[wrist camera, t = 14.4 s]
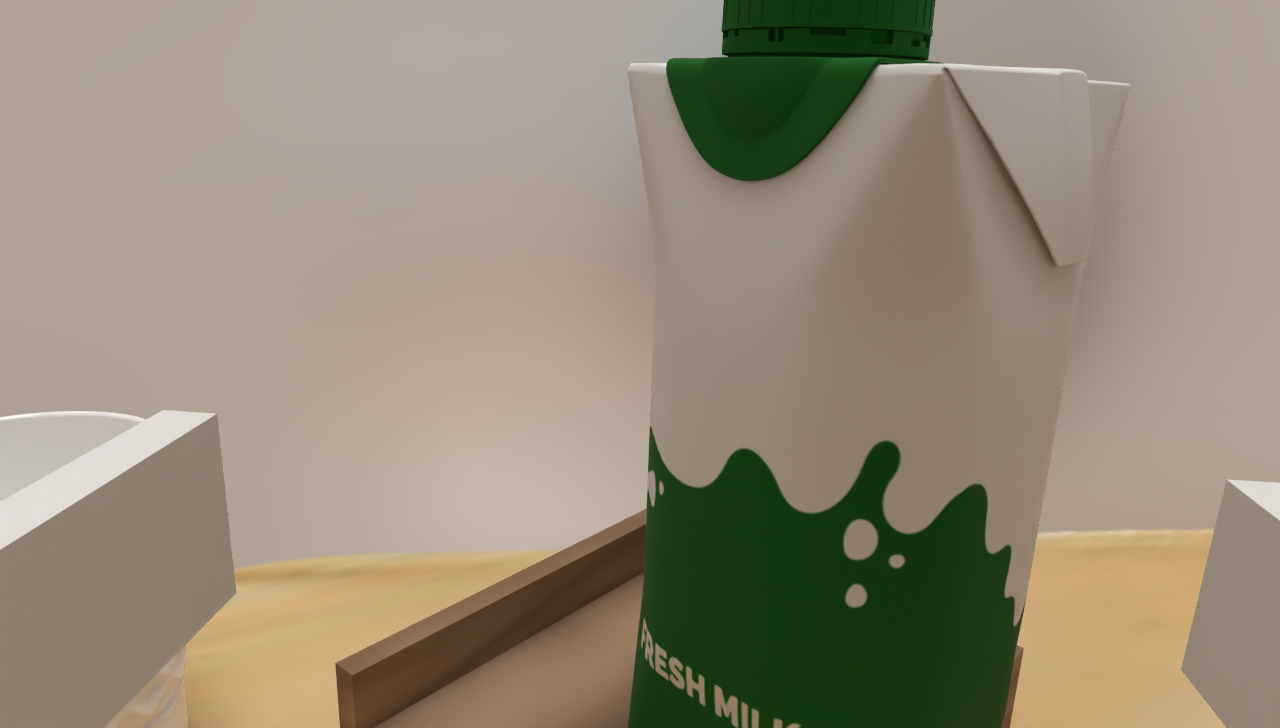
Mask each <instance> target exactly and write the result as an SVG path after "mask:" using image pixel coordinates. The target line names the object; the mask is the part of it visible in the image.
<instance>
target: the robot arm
mask: <svg viewBox="0 0 1280 728" xmlns="http://www.w3.org/2000/svg"><path fill="white" fill-rule="evenodd" d="M235 594H236V587H235V578H234V568H233V559H232V551H231V540H230V531H229V522H228V513H227V503H226V494H225V484H224V476H223V467H222V456H221V448H220V438H219V429H218V420H217V414H213V413H197V412H183V411H167V410H163V411H161V412H159V413H157V414H156V415H154V416H152V417H150V418H148V419H147V420H145V421H143V422H141V423H140V424H138V425H136V426H134V427H132V428H131V429H129V430H127V431H125V432H124V433H122V434H120V435H118V436H116V437H115V438H113V439H111V440H109V441H108V442H106V443H104V444H102V445H100V446H99V447H97V448H95V449H93V450H92V451H90V452H88V453H86V454H84V455H83V456H81V457H79V458H77V459H75V460H74V461H72V462H70V463H68V464H67V465H65V466H63V467H61V468H59V469H58V470H56V471H54V472H52V473H51V474H49V475H47V476H45V477H43V478H42V479H40V480H38V481H36V482H35V483H33V484H31V485H29V486H27V487H26V488H24V489H22V490H20V491H19V492H17V493H15V494H13V495H11V496H10V497H8V498H6V499H4V500H3V501H1V502H0V728H104V727H105V726H106V725H107V724H108V723H109V722H110V721H111V720H112V719H113V718H114V717H115V716H116V715H117V714H118V713H119V712H120V711H121V710H122V709H123V708H124V707H125V706H126V705H127V704H128V703H129V702H130V701H131V700H132V699H133V698H134V696H135V695H136V694H137V693H138V692H139V691H140V690H141V689H142V688H143V687H144V686H145V685H146V684H147V683H148V682H149V681H150V680H151V679H152V678H153V677H154V676H155V675H156V674H157V673H158V672H159V671H160V670H161V669H162V668H163V667H164V666H165V665H166V664H167V663H168V662H169V661H170V660H171V659H172V658H173V657H174V656H175V655H176V654H177V653H178V652H179V651H180V650H181V649H182V648H183V647H184V646H185V645H186V644H187V643H188V642H189V641H190V640H191V639H192V637H193V636H194V635H195V634H196V633H197V632H198V631H199V630H200V629H201V628H202V627H203V626H204V625H205V624H206V623H207V622H208V621H209V620H210V619H211V618H212V617H213V616H214V615H215V614H216V613H217V612H218V611H219V610H220V609H221V608H222V607H223V606H224V605H225V604H226V603H227V602H228V601H229V600H230V599H231V598H232V597H233V596H234V595H235ZM1181 670H1182V671H1183V673H1184V674H1185V675H1186V676H1187V678H1188V679H1189V680H1190V682H1191V683H1192V684H1193V685H1194V687H1195V688H1196V689H1197V690H1198V692H1199V693H1200V694H1201V696H1202V697H1203V698H1204V699H1205V701H1206V702H1207V703H1208V704H1209V706H1210V707H1211V708H1212V710H1213V711H1214V712H1215V713H1216V715H1217V716H1218V717H1219V718H1220V720H1221V721H1222V722H1223V724H1224V725H1225V726H1226V727H1227V728H1280V483H1271V482H1257V481H1256V482H1255V481H1241V480H1226V484H1225V488H1224V493H1223V497H1222V501H1221V505H1220V509H1219V513H1218V517H1217V522H1216V526H1215V530H1214V534H1213V538H1212V543H1211V547H1210V551H1209V555H1208V559H1207V564H1206V568H1205V572H1204V576H1203V580H1202V585H1201V589H1200V593H1199V597H1198V601H1197V606H1196V610H1195V614H1194V618H1193V622H1192V627H1191V631H1190V635H1189V639H1188V643H1187V648H1186V652H1185V656H1184V660H1183V664H1182V669H1181Z"/></svg>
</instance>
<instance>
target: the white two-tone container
mask: <svg viewBox="0 0 1280 728" xmlns="http://www.w3.org/2000/svg"><path fill="white" fill-rule="evenodd" d="M934 7H935V0H724V7H723V23H722V32H723V45H722V54H723V55H726V56H728V57H717V58H716V57H715V58H714V57H713V58H705V59H704V58H673V59H670V60H669V61H668V62H667V63H632V64H631V65H630V66H629V69H628V79H629V84H630V92H631V98H632V104H633V111H634V117H635V123H636V130H637V136H638V142H639V149H640V155H641V161H642V167H643V174H644V181H645V187H646V193H647V200H648V206H649V212H650V219H651V226H652V233H653V240H654V250H655V267H656V273H655V308H654V335H653V359H652V386H651V412H650V414H651V415H650V438H649V464H648V487H647V512H646V537H645V560H644V582H643V592H642V602H641V611H640V620H639V628H638V637H637V647H636V656H635V665H634V674H633V683H632V692H631V701H630V710H629V720H628V728H1001V726H1002V721H1003V716H1004V711H1005V706H1006V701H1007V696H1008V692H1009V686H1010V681H1011V676H1012V670H1013V665H1014V659H1015V653H1016V647H1017V642H1018V636H1019V631H1020V626H1021V621H1022V617H1023V612H1024V606H1025V600H1026V595H1027V589H1028V583H1029V578H1030V572H1031V566H1032V561H1033V555H1034V549H1035V544H1036V538H1037V532H1038V527H1039V521H1040V515H1041V509H1042V503H1043V498H1044V492H1045V487H1046V481H1047V476H1048V470H1049V464H1050V459H1051V453H1052V447H1053V442H1054V436H1055V430H1056V425H1057V418H1058V413H1059V408H1060V402H1061V396H1062V391H1063V385H1064V379H1065V374H1066V368H1067V362H1068V356H1069V350H1070V344H1071V338H1072V331H1073V325H1074V318H1075V312H1076V306H1077V300H1078V295H1079V289H1080V284H1081V279H1082V274H1083V269H1084V265H1085V262H1086V260H1087V257H1088V249H1089V245H1090V241H1091V237H1092V233H1093V229H1094V225H1095V221H1096V217H1097V213H1098V209H1099V205H1100V202H1101V197H1102V194H1103V189H1104V186H1105V182H1106V178H1107V173H1108V170H1109V166H1110V162H1111V158H1112V154H1113V150H1114V146H1115V142H1116V138H1117V134H1118V131H1119V127H1120V123H1121V119H1122V115H1123V111H1124V108H1125V104H1126V100H1127V97H1128V93H1129V90H1130V87H1131V85H1130V84H1126V83H1114V82H1103V81H1092V80H1087V75H1086V74H1085V73H1084V72H1082V71H1079V70H1071V69H1049V68H1018V67H996V66H977V65H963V64H944V63H939V62H931V61H924V60H928V56H929V47H930V40H931V36H932V32H933V30H932V26H933V16H934Z"/></svg>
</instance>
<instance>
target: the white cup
mask: <svg viewBox="0 0 1280 728" xmlns="http://www.w3.org/2000/svg"><path fill="white" fill-rule="evenodd" d="M145 420H147V419H144V418H141V417H137V416H132V415H126V414H120V413H111V412H98V411H59V412H42V413H30V414H22V415H13V416H5V417H0V502H1V501H3V500H4V499H6V498H8V497H10V496H11V495H13V494H15V493H17V492H19V491H20V490H22V489H24V488H26V487H27V486H29V485H31V484H33V483H35V482H36V481H38V480H40V479H42V478H43V477H45V476H47V475H49V474H51V473H52V472H54V471H56V470H58V469H59V468H61V467H63V466H65V465H67V464H68V463H70V462H72V461H74V460H75V459H77V458H79V457H81V456H83V455H84V454H86V453H88V452H90V451H92V450H93V449H95V448H97V447H99V446H100V445H102V444H104V443H106V442H108V441H109V440H111V439H113V438H115V437H116V436H118V435H120V434H122V433H124V432H125V431H127V430H129V429H131V428H132V427H134V426H136V425H138V424H140V423H141V422H143V421H145ZM185 652H186V645H185V646H184V647H183V648H182V649H181V650H180V651H179V652H178V653H177V654H176V655H175V656H174V657H173V658H172V659H171V660H170V661H169V662H168V663H167V664H166V665H165V666H164V667H163V668H162V669H161V670H160V671H159V672H158V673H157V674H156V675H155V676H154V677H153V678H152V679H151V680H150V681H149V682H148V683H147V684H146V685H145V686H144V687H143V688H142V689H141V690H140V691H139V692H138V693H137V694H136V695H135V696H134V698H133V699H132V700H131V701H130V702H129V703H128V704H127V705H126V706H125V707H124V708H123V709H122V710H121V711H120V712H119V713H118V714H117V715H116V716H115V717H114V718H113V719H112V720H111V721H110V722H109V723H108V724H107V725H106V726H105V727H104V728H189V727H188V715H187V703H186V691H185V680H184V674H183V673H184V665H185Z"/></svg>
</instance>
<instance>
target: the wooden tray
mask: <svg viewBox="0 0 1280 728" xmlns="http://www.w3.org/2000/svg"><path fill="white" fill-rule="evenodd" d="M646 512H647V509H645V510H643V511H641V512H639V513H637V514H635V515H633V516H631V517H629V518H627V519H625V520H623V521H621V522H619V523H617V524H615V525H613V526H611V527H609V528H607V529H605V530H603V531H601V532H599V533H597V534H595V535H593V536H591V537H589V538H587V539H585V540H583V541H581V542H579V543H577V544H575V545H573V546H571V547H568V548H566V549H564V550H562V551H560V552H558V553H556V554H554V555H552V556H550V557H548V558H546V559H544V560H542V561H540V562H538V563H536V564H534V565H532V566H530V567H528V568H526V569H524V570H522V571H520V572H518V573H516V574H514V575H512V576H510V577H508V578H506V579H504V580H502V581H500V582H498V583H496V584H494V585H492V586H490V587H488V588H486V589H484V590H482V591H480V592H478V593H476V594H474V595H472V596H470V597H468V598H466V599H464V600H462V601H460V602H458V603H456V604H454V605H452V606H450V607H448V608H446V609H444V610H442V611H440V612H438V613H436V614H434V615H432V616H430V617H428V618H426V619H423V620H421V621H419V622H417V623H415V624H413V625H411V626H409V627H407V628H405V629H403V630H401V631H399V632H397V633H395V634H393V635H391V636H389V637H387V638H385V639H383V640H381V641H379V642H377V643H375V644H373V645H371V646H369V647H367V648H365V649H363V650H361V651H359V652H357V653H355V654H353V655H351V656H349V657H347V658H345V659H343V660H341V661H339V662H337V663H336V677H337V690H338V704H339V717H340V728H628V720H629V710H630V701H631V692H632V683H633V674H634V665H635V656H636V647H637V637H638V628H639V620H640V611H641V602H642V592H643V582H644V560H645V537H646ZM1023 649H1024V648H1022V647H1019V646H1017V647H1016V653H1015V659H1014V665H1013V670H1012V676H1011V681H1010V686H1009V692H1008V696H1007V701H1006V706H1005V711H1004V716H1003V721H1002V726H1001V728H1010V722H1011V716H1012V711H1013V705H1014V700H1015V694H1016V688H1017V683H1018V677H1019V672H1020V666H1021V660H1022V655H1023Z"/></svg>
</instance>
